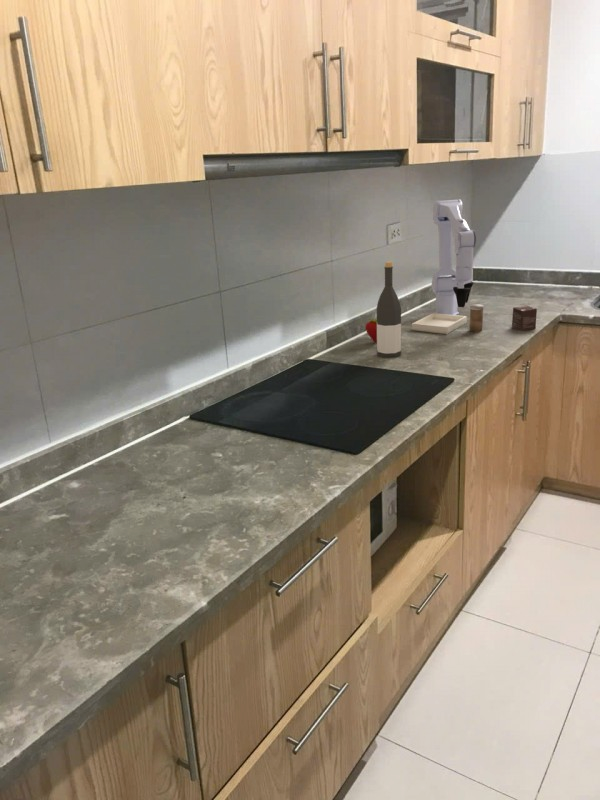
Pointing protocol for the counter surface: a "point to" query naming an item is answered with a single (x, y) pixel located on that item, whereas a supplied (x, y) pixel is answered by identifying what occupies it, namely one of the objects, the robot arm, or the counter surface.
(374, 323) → the strawberry
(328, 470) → the counter surface
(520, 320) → the box
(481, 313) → the shaker
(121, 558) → the counter surface
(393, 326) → the wine bottle
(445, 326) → the tray
